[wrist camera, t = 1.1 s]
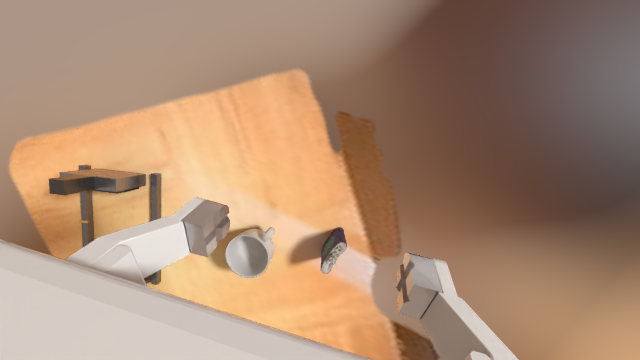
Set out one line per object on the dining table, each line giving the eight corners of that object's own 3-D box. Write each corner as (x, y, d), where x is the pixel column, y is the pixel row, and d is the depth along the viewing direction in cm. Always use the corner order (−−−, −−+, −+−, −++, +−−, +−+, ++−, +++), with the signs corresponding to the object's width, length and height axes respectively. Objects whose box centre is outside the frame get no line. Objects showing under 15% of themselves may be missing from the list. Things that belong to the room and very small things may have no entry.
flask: (327, 257, 62) (327, 280, 51) (318, 252, 62) (316, 273, 51) (346, 230, 61) (349, 248, 50) (336, 224, 61) (338, 241, 50)
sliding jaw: (145, 187, 60) (88, 200, 46) (97, 182, 61) (26, 193, 46) (145, 174, 60) (87, 183, 45) (97, 168, 60) (24, 175, 46)
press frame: (161, 281, 65) (135, 303, 56) (89, 272, 65) (51, 292, 56) (162, 173, 60) (133, 178, 51) (84, 164, 61) (42, 168, 52)
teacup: (253, 268, 63) (242, 286, 55) (229, 238, 62) (214, 251, 54) (294, 241, 62) (288, 256, 54) (269, 209, 61) (261, 219, 53)
